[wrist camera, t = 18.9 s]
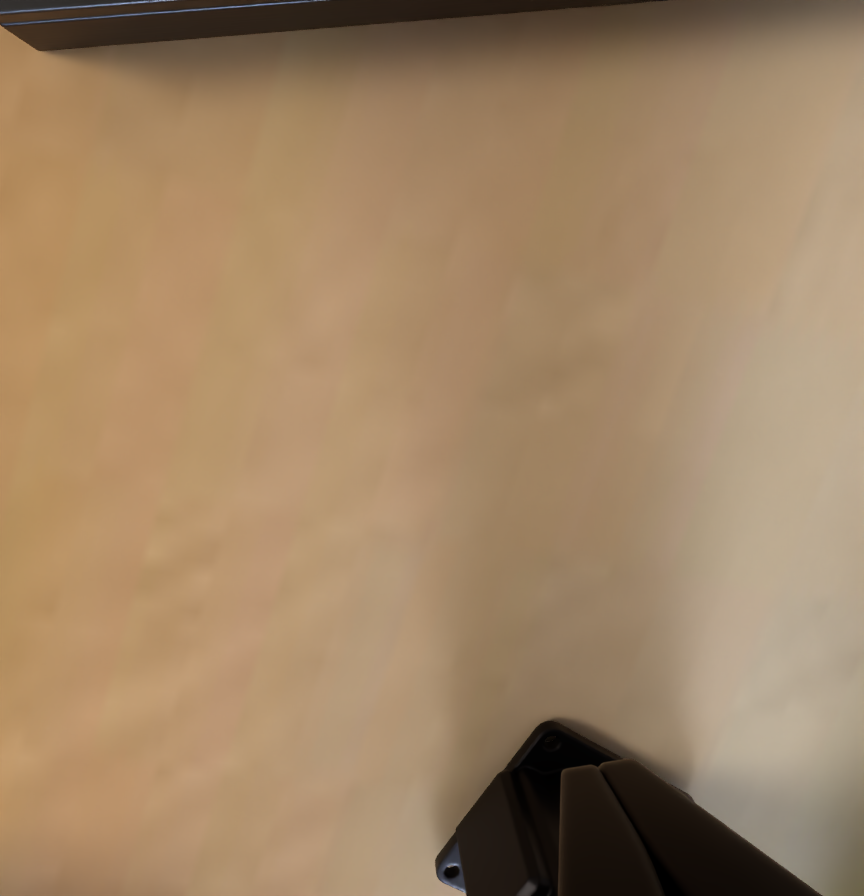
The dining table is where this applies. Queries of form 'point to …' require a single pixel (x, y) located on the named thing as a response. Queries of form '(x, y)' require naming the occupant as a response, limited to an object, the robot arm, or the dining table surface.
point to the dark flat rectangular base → (262, 19)
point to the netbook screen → (100, 7)
